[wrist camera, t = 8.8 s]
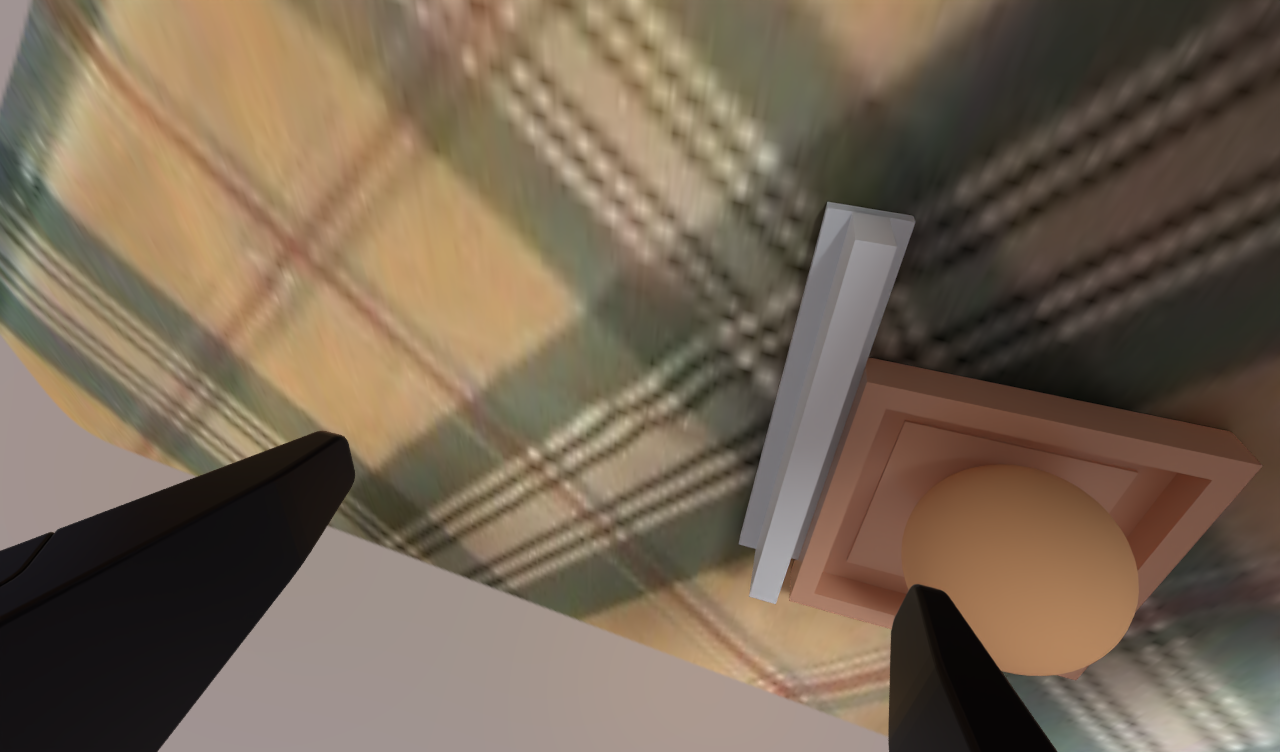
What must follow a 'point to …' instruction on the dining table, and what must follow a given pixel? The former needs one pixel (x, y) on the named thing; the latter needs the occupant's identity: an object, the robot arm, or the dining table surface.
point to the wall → (820, 380)
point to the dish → (1001, 434)
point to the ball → (1025, 566)
